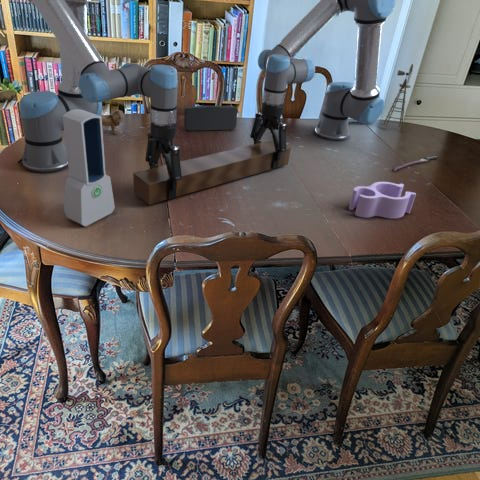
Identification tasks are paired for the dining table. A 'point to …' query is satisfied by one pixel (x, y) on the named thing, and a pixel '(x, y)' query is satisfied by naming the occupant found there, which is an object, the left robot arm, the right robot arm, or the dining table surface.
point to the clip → (381, 200)
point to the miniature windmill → (400, 99)
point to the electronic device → (86, 169)
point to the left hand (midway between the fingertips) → (162, 191)
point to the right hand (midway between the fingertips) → (265, 162)
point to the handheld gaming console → (210, 118)
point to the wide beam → (208, 171)
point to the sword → (415, 162)
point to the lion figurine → (113, 120)
